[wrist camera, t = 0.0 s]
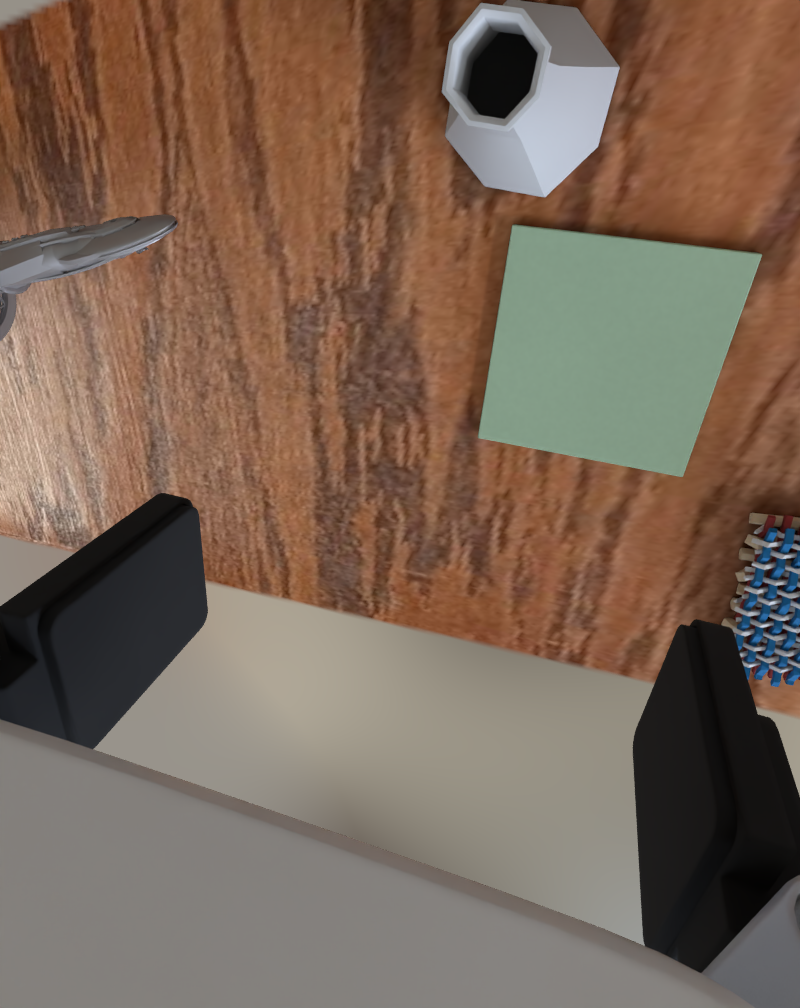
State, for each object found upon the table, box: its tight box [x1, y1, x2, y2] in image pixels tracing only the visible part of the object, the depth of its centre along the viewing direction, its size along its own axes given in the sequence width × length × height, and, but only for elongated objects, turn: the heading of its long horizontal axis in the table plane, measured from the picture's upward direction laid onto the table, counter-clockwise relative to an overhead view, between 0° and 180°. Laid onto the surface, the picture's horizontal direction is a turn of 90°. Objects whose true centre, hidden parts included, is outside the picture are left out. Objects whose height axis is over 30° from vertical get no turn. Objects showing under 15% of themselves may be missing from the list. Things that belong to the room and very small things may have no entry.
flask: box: [442, 0, 620, 197], centre depth 22 cm, size 7×7×10 cm
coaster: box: [478, 224, 762, 477], centre depth 30 cm, size 11×11×1 cm
